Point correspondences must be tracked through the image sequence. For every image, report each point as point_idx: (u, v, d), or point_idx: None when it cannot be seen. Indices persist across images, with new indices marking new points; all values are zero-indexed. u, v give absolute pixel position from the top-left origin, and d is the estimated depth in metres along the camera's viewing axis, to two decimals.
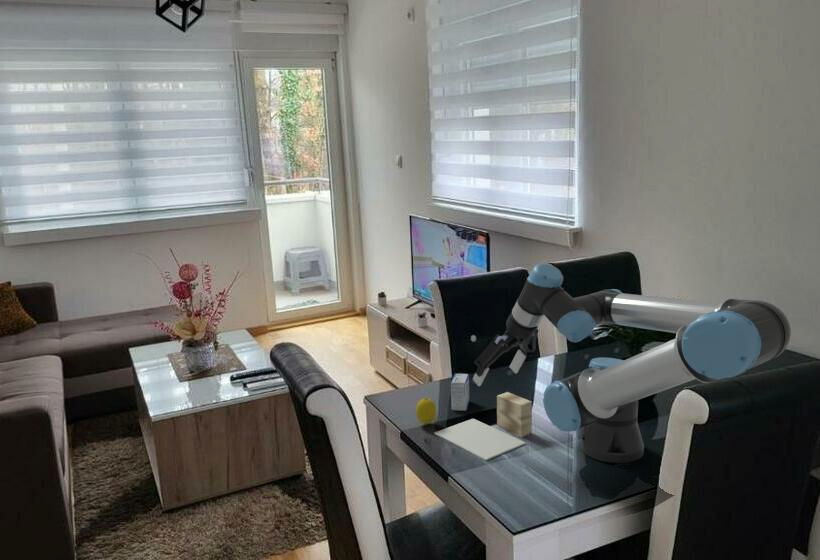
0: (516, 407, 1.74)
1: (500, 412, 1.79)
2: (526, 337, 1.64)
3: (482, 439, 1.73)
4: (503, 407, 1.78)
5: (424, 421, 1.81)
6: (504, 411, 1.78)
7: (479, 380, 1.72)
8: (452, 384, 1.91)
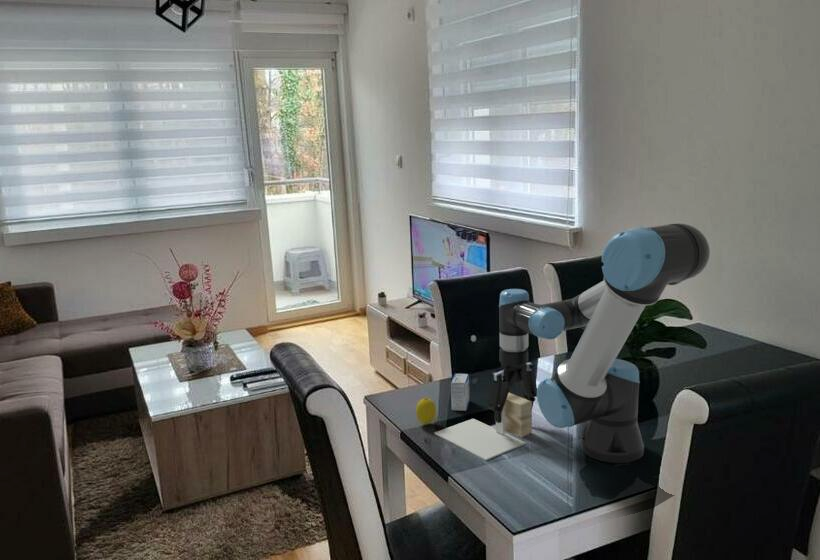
0: (516, 407, 1.74)
1: None
2: (520, 363, 1.71)
3: (482, 439, 1.73)
4: None
5: (424, 421, 1.81)
6: None
7: (501, 428, 1.75)
8: (452, 384, 1.91)
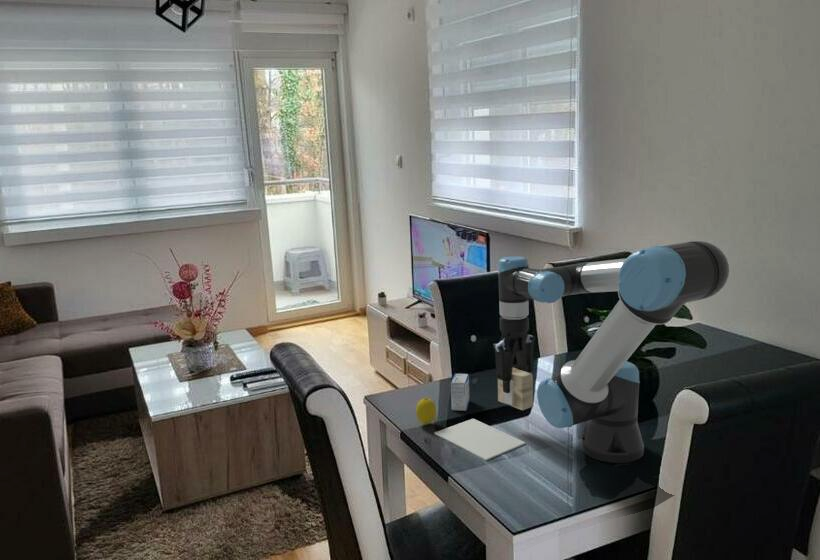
0: (517, 379, 1.72)
1: (501, 386, 1.77)
2: (521, 330, 1.69)
3: (482, 439, 1.73)
4: None
5: (424, 421, 1.81)
6: None
7: (510, 398, 1.74)
8: (452, 384, 1.91)
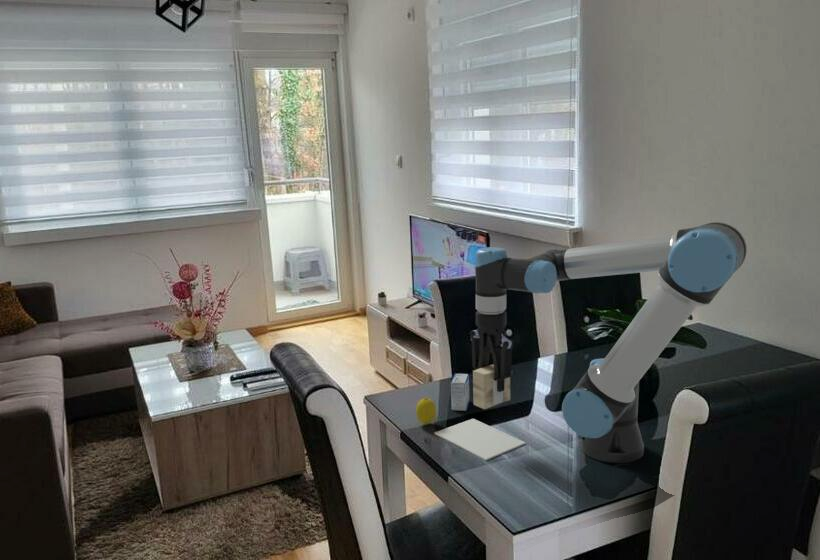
0: None
1: None
2: (477, 324, 1.62)
3: (482, 439, 1.73)
4: None
5: (424, 421, 1.81)
6: None
7: None
8: (452, 384, 1.91)
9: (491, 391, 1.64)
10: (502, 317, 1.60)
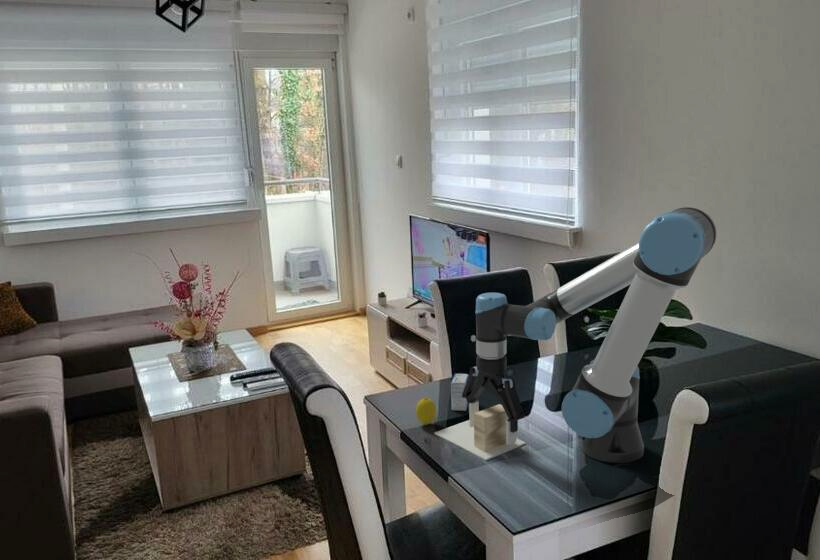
0: None
1: None
2: (477, 368, 1.65)
3: None
4: None
5: (424, 421, 1.81)
6: None
7: None
8: (452, 384, 1.91)
9: (492, 433, 1.67)
10: (502, 361, 1.62)
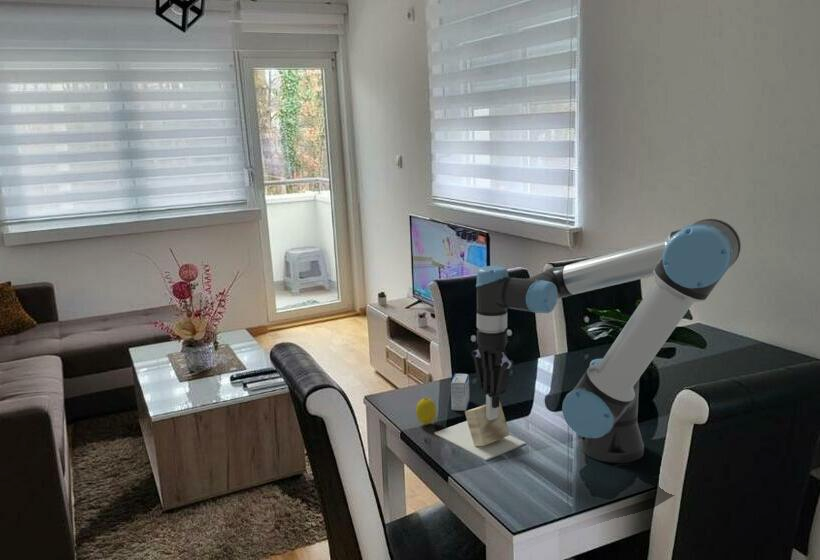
0: None
1: None
2: (478, 342, 1.63)
3: None
4: None
5: (424, 421, 1.81)
6: None
7: None
8: (452, 384, 1.91)
9: (486, 426, 1.68)
10: (503, 335, 1.61)
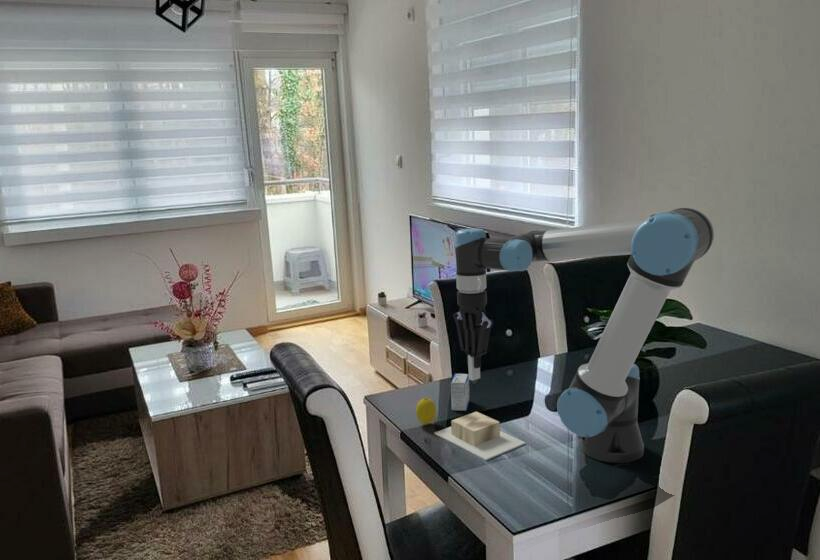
0: None
1: None
2: (458, 303, 1.67)
3: None
4: None
5: (424, 421, 1.81)
6: None
7: None
8: (452, 384, 1.91)
9: (470, 423, 1.73)
10: (482, 295, 1.65)
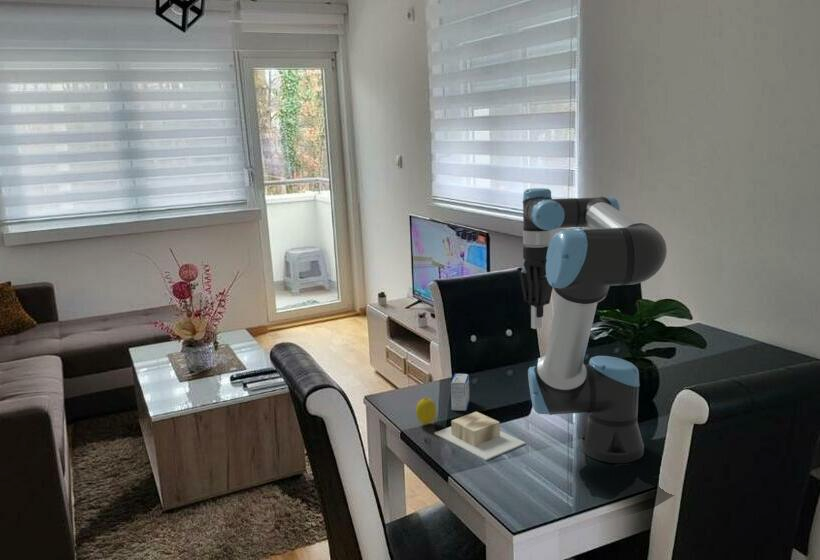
0: None
1: None
2: (524, 257, 1.82)
3: None
4: None
5: (424, 421, 1.81)
6: None
7: None
8: (452, 384, 1.91)
9: (470, 423, 1.73)
10: (547, 249, 1.80)
